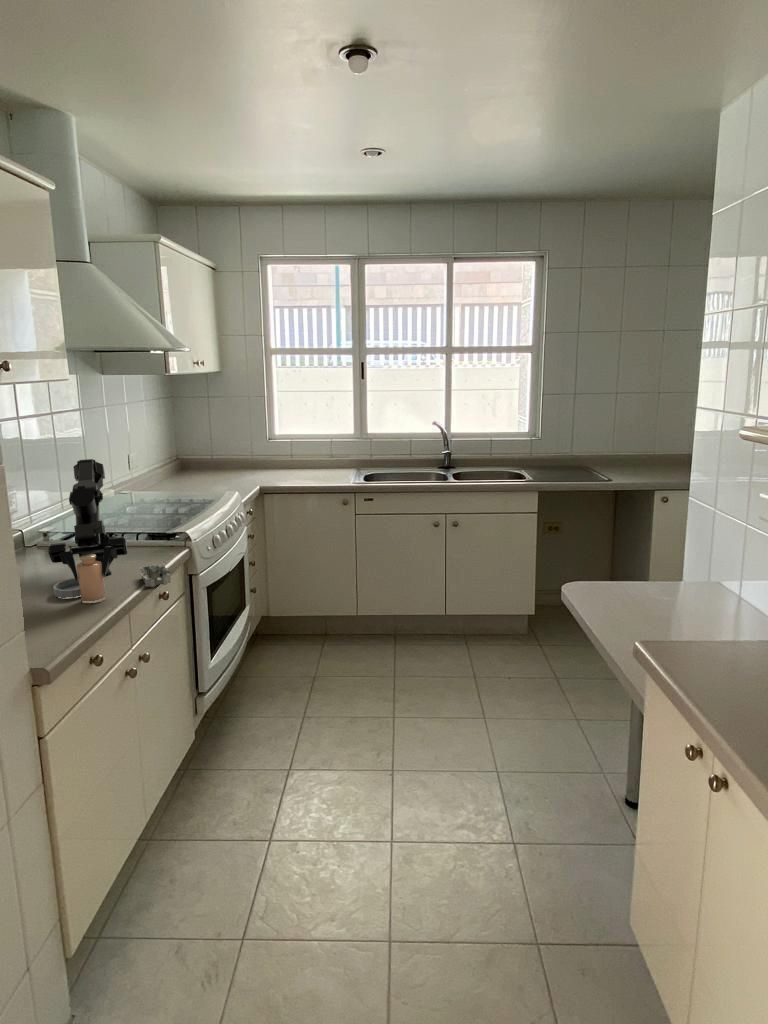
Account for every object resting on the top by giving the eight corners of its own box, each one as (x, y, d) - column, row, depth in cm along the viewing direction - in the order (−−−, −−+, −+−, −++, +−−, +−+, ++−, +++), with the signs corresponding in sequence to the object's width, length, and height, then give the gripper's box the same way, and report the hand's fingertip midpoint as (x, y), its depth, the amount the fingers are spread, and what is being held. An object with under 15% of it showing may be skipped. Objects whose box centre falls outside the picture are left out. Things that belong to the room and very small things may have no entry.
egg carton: (172, 585, 188) (170, 571, 187) (144, 589, 185) (142, 575, 184) (167, 573, 198) (166, 560, 197) (140, 577, 195) (139, 564, 194)
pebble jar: (79, 599, 178) (73, 555, 175) (103, 594, 181) (98, 551, 178) (83, 606, 173) (77, 561, 170) (108, 601, 176) (102, 556, 173)
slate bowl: (52, 590, 185) (51, 582, 184) (92, 583, 190) (91, 574, 189) (57, 602, 176) (56, 593, 176) (100, 593, 182) (98, 585, 181)
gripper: (43, 514, 172) (44, 568, 165) (121, 507, 178) (125, 558, 171) (51, 536, 181) (53, 588, 174) (125, 528, 187) (129, 578, 180)
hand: (90, 577), depth 174 cm, fingers open, 6 cm apart
